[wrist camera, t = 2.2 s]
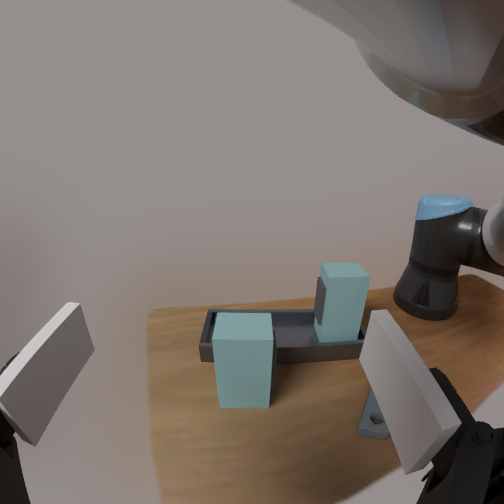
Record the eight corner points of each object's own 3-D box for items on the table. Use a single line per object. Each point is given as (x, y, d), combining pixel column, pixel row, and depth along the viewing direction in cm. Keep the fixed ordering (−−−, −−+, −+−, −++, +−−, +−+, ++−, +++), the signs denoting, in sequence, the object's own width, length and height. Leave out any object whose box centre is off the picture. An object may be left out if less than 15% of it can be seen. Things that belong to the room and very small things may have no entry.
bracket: (397, 385, 33) (401, 375, 32) (385, 442, 24) (390, 433, 24) (371, 379, 35) (375, 369, 34) (354, 435, 26) (358, 426, 25)
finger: (271, 380, 36) (275, 312, 32) (273, 408, 31) (278, 339, 27) (222, 379, 36) (217, 312, 32) (219, 407, 31) (212, 339, 27)
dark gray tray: (350, 321, 48) (353, 307, 47) (368, 357, 39) (372, 342, 38) (209, 323, 48) (208, 309, 47) (200, 361, 39) (198, 345, 38)
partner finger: (348, 323, 45) (358, 262, 41) (356, 340, 41) (370, 276, 37) (311, 324, 45) (318, 262, 41) (316, 343, 41) (325, 277, 37)
